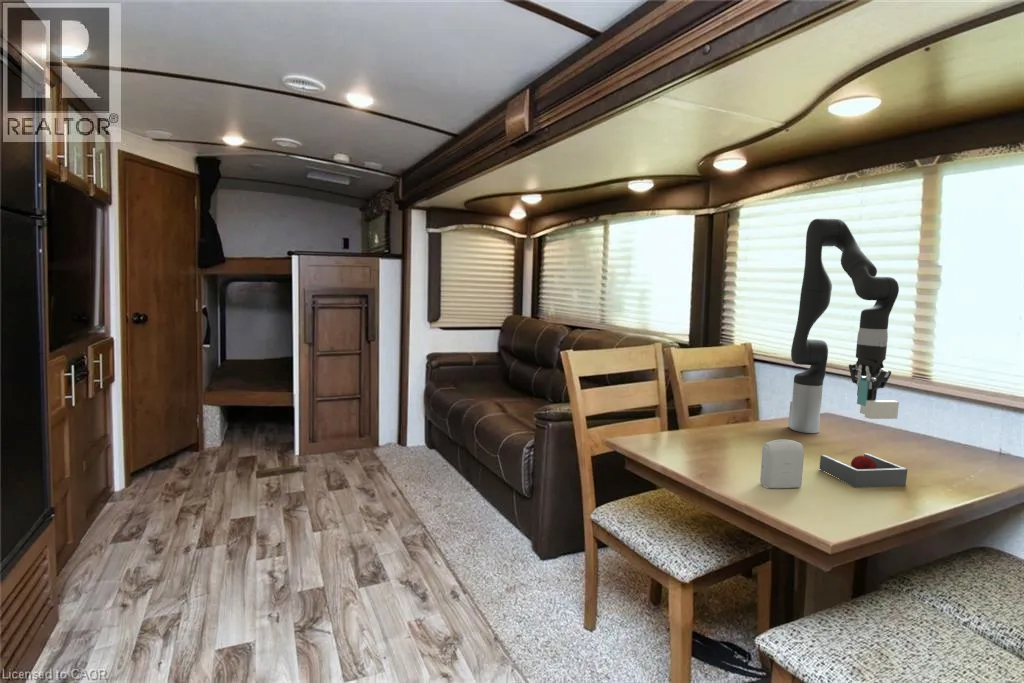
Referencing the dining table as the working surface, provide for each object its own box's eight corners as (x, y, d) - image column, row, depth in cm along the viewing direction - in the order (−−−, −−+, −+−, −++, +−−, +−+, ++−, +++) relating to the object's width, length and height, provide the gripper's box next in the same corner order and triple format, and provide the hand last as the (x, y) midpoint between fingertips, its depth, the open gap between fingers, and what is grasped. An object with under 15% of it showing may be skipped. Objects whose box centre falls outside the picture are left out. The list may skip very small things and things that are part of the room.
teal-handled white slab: (847, 411, 161) (850, 379, 160) (873, 411, 163) (876, 379, 162) (870, 418, 153) (873, 385, 152) (897, 418, 154) (900, 385, 153)
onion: (840, 462, 148) (863, 472, 140) (854, 447, 148) (878, 457, 140) (851, 475, 149) (875, 486, 141) (865, 461, 149) (890, 471, 141)
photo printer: (766, 489, 134) (770, 442, 133) (756, 483, 139) (760, 437, 137) (804, 489, 135) (808, 442, 134) (793, 482, 140) (797, 437, 138)
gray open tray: (819, 470, 150) (820, 454, 149) (865, 468, 152) (867, 453, 152) (855, 487, 137) (857, 470, 137) (905, 485, 139) (907, 469, 139)
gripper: (842, 340, 164) (837, 395, 166) (880, 346, 151) (874, 405, 153) (863, 341, 166) (858, 394, 168) (903, 346, 152) (897, 405, 154)
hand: (866, 399), depth 160 cm, fingers closed on teal-handled white slab, 3 cm apart
